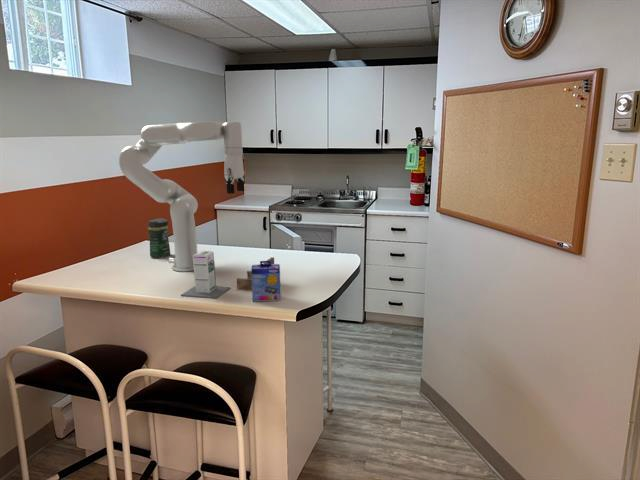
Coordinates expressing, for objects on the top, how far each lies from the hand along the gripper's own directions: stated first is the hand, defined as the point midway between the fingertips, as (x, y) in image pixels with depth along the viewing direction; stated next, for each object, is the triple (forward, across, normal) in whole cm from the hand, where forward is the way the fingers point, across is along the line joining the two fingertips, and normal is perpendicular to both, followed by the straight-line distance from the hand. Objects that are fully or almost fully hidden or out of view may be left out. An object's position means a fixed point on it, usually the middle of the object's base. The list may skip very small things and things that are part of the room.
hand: (235, 192), depth 202 cm
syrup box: (+33, +36, +3) cm, 48 cm away
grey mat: (+33, +36, +3) cm, 49 cm away
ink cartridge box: (+33, +38, +28) cm, 58 cm away
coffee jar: (+33, -9, -46) cm, 58 cm away
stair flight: (+33, +24, +18) cm, 45 cm away
